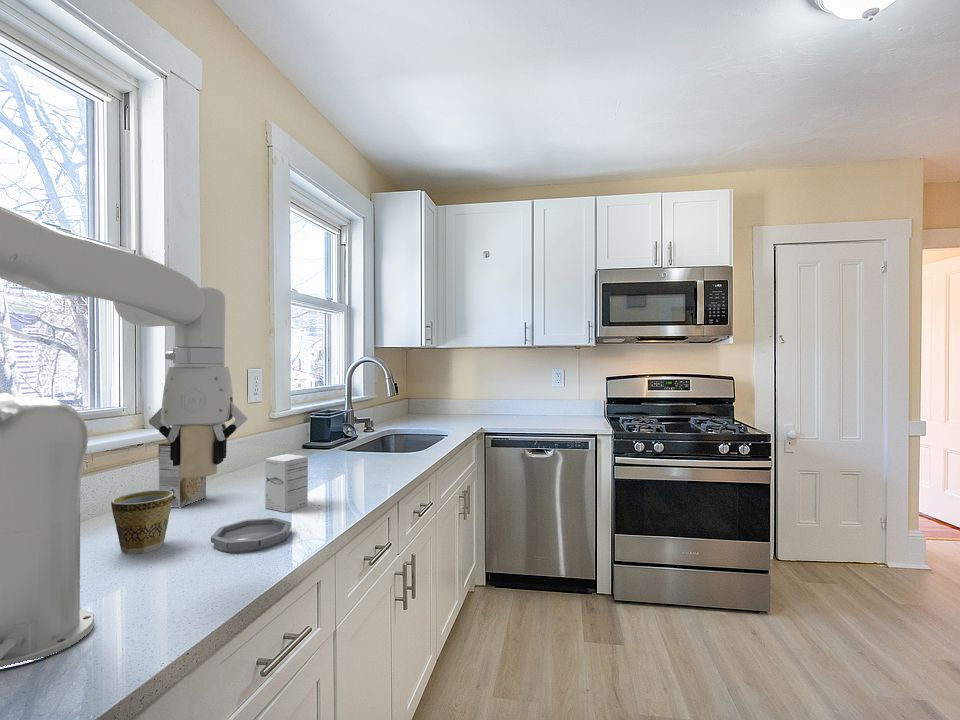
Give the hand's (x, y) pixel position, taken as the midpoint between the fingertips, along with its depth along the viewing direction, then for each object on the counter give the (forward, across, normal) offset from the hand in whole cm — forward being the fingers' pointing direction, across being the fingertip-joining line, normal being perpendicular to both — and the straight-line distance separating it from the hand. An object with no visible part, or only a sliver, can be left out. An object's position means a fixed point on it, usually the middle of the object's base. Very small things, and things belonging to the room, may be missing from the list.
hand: (198, 462), depth 83 cm
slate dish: (+19, +5, +15) cm, 25 cm away
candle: (+2, 0, 0) cm, 2 cm away
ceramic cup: (+19, -16, +16) cm, 30 cm away
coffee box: (+19, -19, +47) cm, 54 cm away
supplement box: (+19, +8, +37) cm, 43 cm away
